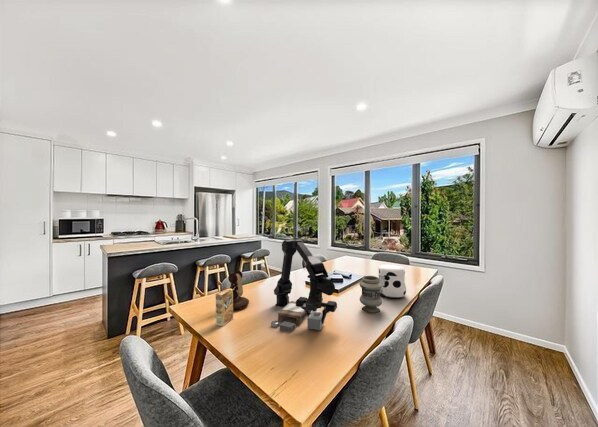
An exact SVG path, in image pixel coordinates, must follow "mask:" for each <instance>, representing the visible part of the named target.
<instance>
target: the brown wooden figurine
mask: <svg viewBox="0 0 598 427" xmlns="http://www.w3.org/2000/svg"><path fill="white" fill-rule="evenodd" d="M227 278H228V282H230V286H229V289H233V310H237V309H238V310H239V311H241V310H242V308H245V307H246V306H249V304H250V300H249V299H248V298H246V297H244V296H243V293H244V288H243V282H242V278H243V272H242V271H240V270H238V269H237V270H236V271H234V272H233V273H229V275H228V277H227Z"/></svg>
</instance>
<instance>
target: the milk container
mask: <svg viewBox="0 0 598 427" xmlns="http://www.w3.org/2000/svg"><path fill="white" fill-rule="evenodd" d="M405 273H406V272H405V267H404V266H400V265H395V264H382V265H379V266H378V278H379V282H381V284H382V288H381V289H380V296H383V297H385V298H392V299H401V298H404V297H405V296H406V295H407V286H406V282H405V281H406V280H405V279H406V277H405V276H406V275H405Z"/></svg>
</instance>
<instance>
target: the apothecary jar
mask: <svg viewBox="0 0 598 427" xmlns="http://www.w3.org/2000/svg"><path fill="white" fill-rule="evenodd" d="M359 287H360V288H361V295H360V296H359V302H360V303H361V304H362V305H363V306H362V307H361V311H362V312H363V313H367V314H369V315H370V314H371V315H377V314H378V315H379V314H380V313H381V309H380V308H379V307H380V306H381V305H383V302H384V300H383V298H382V297H381V294H380V289H381V288H382V284H381V282H379V276H374V275H364V276H362V280H361V281H360V282H359Z"/></svg>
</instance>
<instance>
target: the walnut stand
mask: <svg viewBox="0 0 598 427" xmlns="http://www.w3.org/2000/svg"><path fill="white" fill-rule="evenodd" d="M289 302H290V303H288V304H287V305H286V306H285V307H282V308H281V309H280V310H279V311H278V312H277V321H279V322H283V321H284V320H285V318H284V317H288V318H294V319H296V325H300V326H301V325H302V323H303V316H305V315H306V312H305V310H304V309H302V308H301V307H297V306H296V301H294V300H291V301H289Z"/></svg>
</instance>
